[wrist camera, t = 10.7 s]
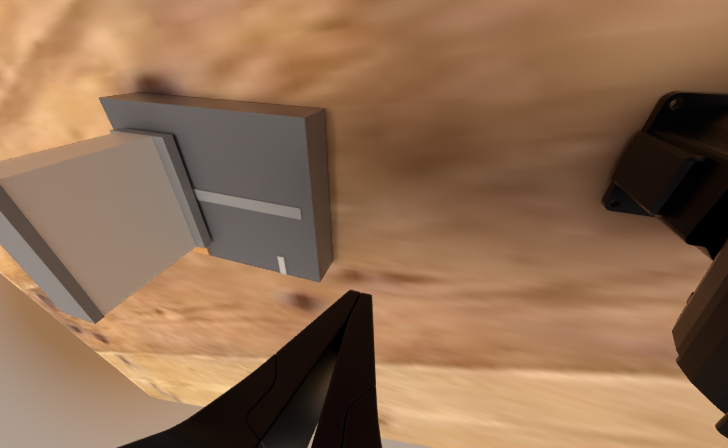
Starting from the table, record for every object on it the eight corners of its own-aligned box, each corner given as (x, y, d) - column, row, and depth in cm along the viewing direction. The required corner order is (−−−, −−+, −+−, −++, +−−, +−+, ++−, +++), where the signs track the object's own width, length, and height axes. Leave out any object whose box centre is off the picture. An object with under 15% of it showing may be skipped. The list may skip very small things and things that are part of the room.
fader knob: (171, 133, 20) (-9, 187, 12) (211, 243, 25) (105, 327, 18) (120, 127, 21) (-75, 172, 13) (169, 233, 26) (52, 308, 19)
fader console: (324, 108, 19) (302, 118, 16) (332, 261, 26) (318, 284, 24) (137, 92, 23) (95, 98, 20) (192, 229, 30) (167, 246, 28)
